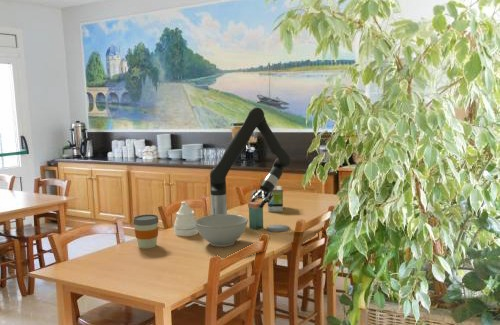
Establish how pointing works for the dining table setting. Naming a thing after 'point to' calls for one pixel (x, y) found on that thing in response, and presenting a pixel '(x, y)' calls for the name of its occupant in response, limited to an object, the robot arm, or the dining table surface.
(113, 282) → the dining table surface
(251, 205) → the tin lid
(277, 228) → the slate mat
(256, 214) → the tea tin
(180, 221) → the honey pot
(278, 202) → the tea box
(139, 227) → the reusable coffee cup
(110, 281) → the dining table surface
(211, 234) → the decorative bowl
